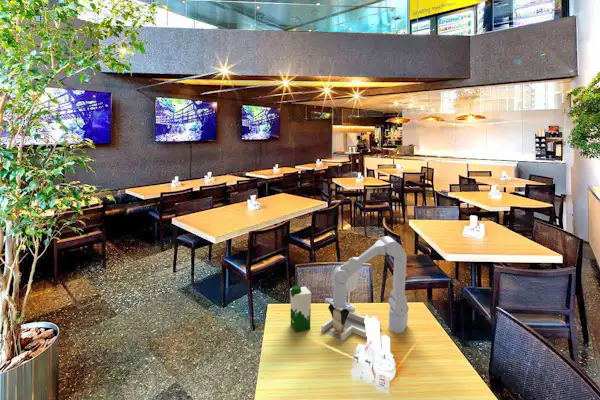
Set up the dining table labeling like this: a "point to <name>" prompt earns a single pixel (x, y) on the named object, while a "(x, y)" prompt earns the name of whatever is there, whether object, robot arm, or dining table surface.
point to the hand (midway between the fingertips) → (339, 322)
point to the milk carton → (300, 308)
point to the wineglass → (351, 285)
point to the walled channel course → (346, 327)
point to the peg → (337, 319)
